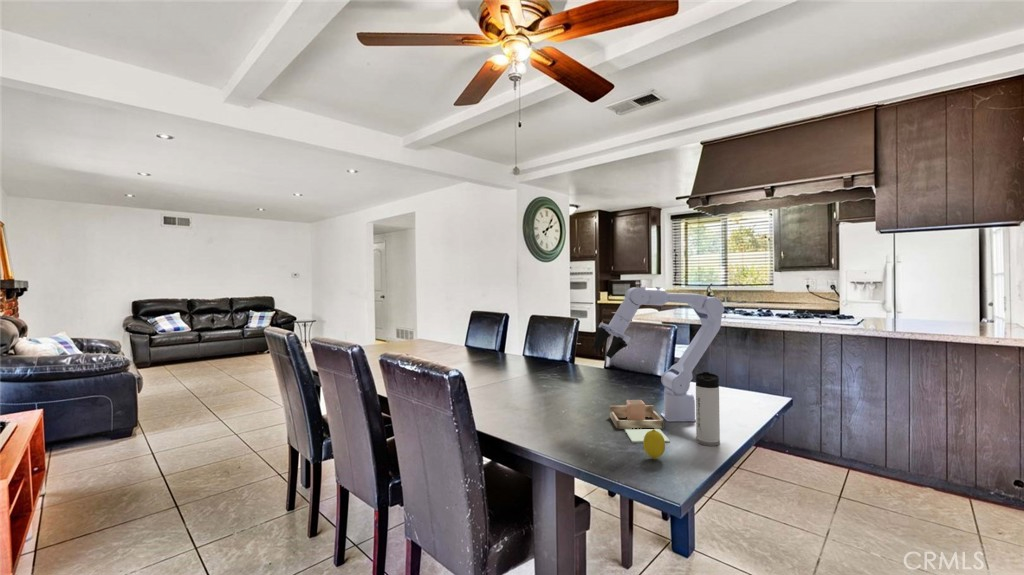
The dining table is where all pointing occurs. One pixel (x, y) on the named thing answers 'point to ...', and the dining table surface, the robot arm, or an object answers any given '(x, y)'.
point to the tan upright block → (635, 410)
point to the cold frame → (629, 424)
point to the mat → (641, 434)
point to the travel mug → (707, 409)
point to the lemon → (654, 444)
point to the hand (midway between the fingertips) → (601, 352)
